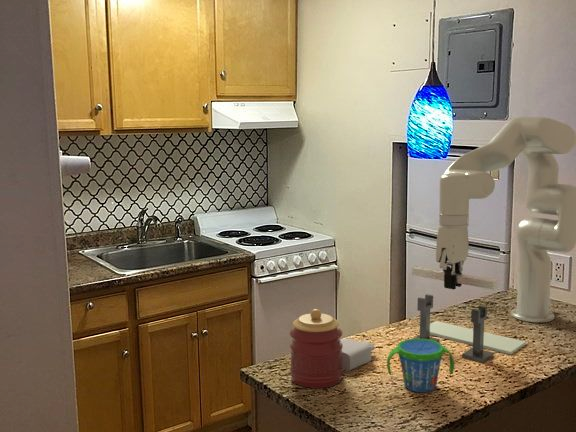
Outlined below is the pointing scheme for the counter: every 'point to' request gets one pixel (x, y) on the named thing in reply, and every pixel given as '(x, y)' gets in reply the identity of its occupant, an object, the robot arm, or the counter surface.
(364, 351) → the charger
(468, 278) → the rail
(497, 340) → the board
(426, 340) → the snack cup
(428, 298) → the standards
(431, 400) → the counter surface
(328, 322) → the canister
